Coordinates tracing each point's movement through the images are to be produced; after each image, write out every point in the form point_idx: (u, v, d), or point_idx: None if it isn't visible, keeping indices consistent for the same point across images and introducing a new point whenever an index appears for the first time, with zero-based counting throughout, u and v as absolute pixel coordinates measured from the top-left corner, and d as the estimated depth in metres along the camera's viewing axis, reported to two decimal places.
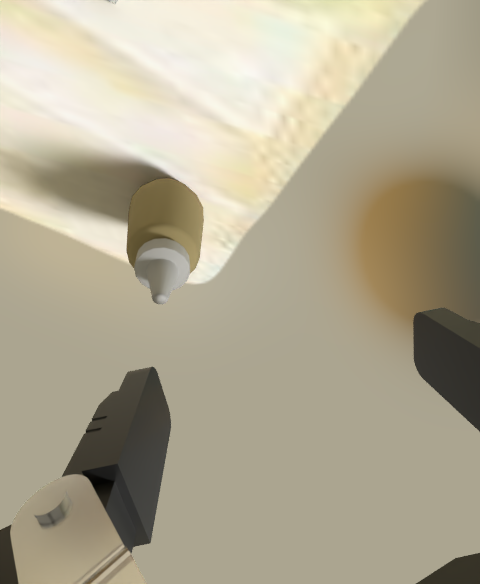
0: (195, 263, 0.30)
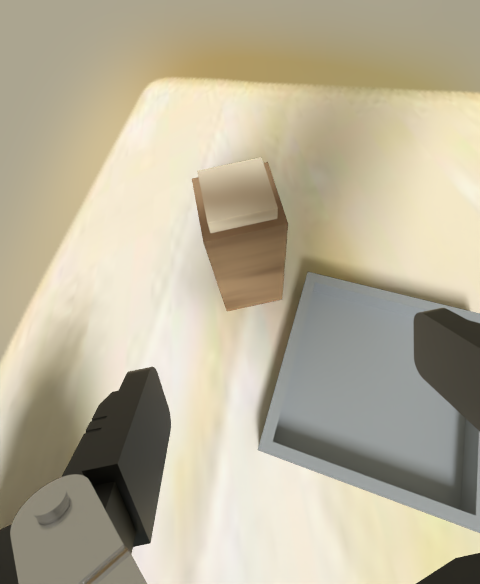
0: None
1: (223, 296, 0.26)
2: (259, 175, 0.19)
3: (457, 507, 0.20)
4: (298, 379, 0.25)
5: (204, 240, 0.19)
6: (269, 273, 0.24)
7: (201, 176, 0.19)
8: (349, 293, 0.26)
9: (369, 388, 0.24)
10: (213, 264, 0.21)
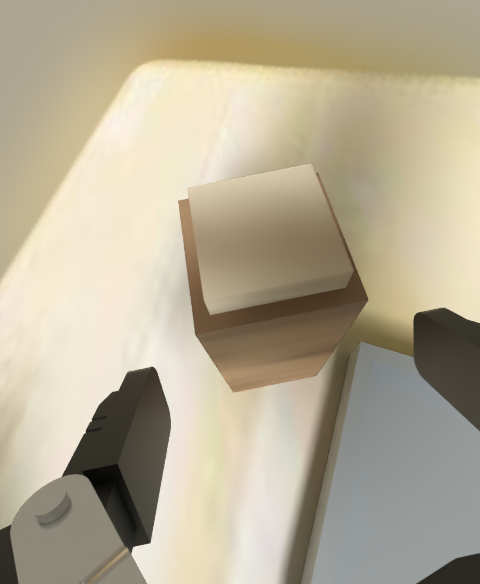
0: None
1: (229, 382, 0.16)
2: (310, 200, 0.10)
3: None
4: (349, 525, 0.15)
5: (197, 330, 0.09)
6: (307, 356, 0.14)
7: (195, 199, 0.10)
8: None
9: (470, 550, 0.14)
10: (214, 357, 0.11)
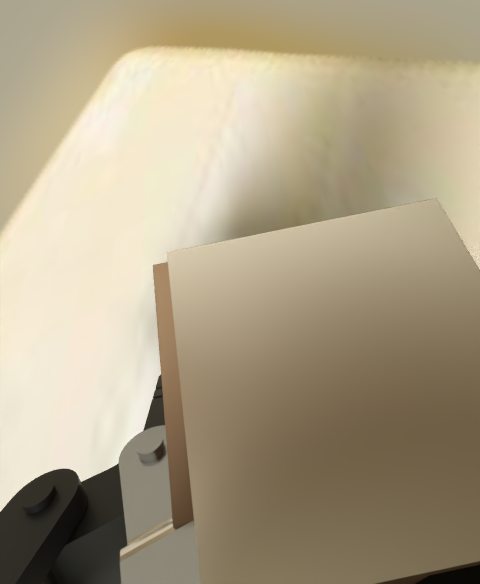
0: None
1: None
2: (453, 290, 0.04)
3: None
4: None
5: None
6: None
7: (183, 280, 0.04)
8: None
9: None
10: None
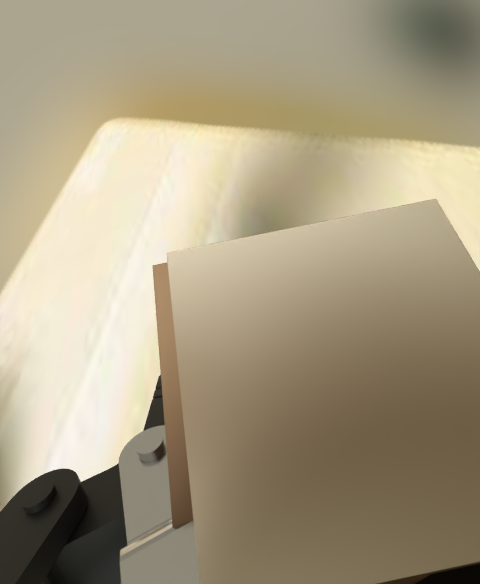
0: None
1: None
2: (452, 290, 0.04)
3: None
4: None
5: None
6: None
7: (182, 281, 0.04)
8: None
9: None
10: None
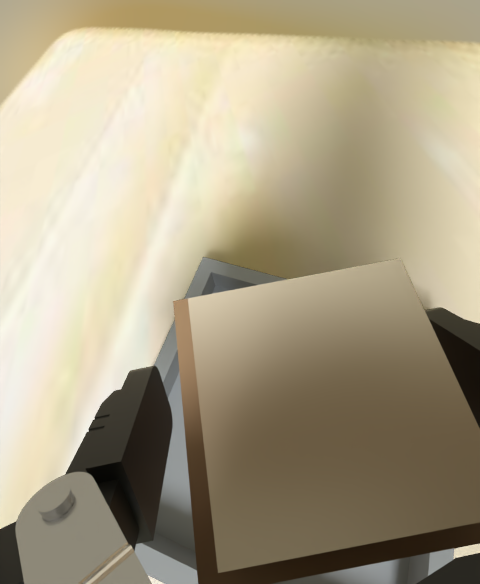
0: None
1: None
2: (407, 335, 0.05)
3: None
4: (174, 415, 0.16)
5: None
6: None
7: (200, 322, 0.06)
8: None
9: None
10: None
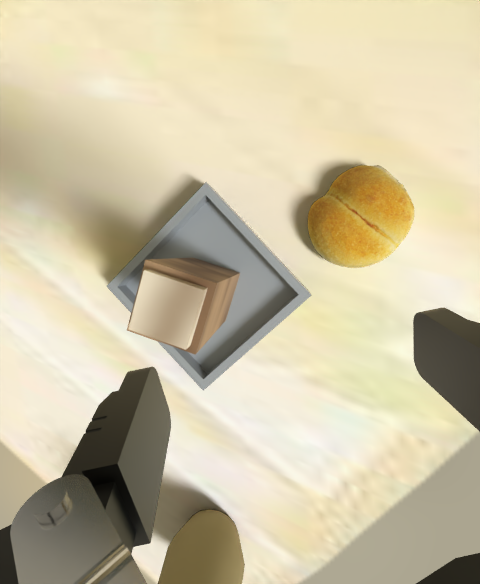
0: None
1: (219, 326, 0.29)
2: (163, 283, 0.20)
3: (295, 293, 0.31)
4: None
5: (194, 353, 0.21)
6: (227, 290, 0.26)
7: (136, 329, 0.21)
8: (138, 266, 0.31)
9: None
10: (205, 341, 0.24)
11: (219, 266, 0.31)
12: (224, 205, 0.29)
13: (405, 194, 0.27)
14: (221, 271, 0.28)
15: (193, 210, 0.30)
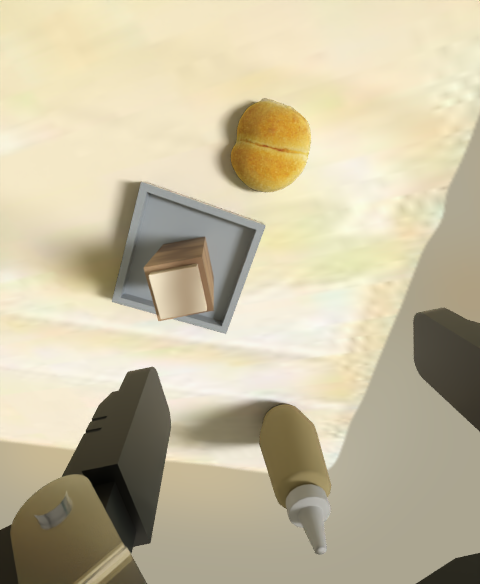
0: (329, 490, 0.37)
1: (213, 283, 0.36)
2: (167, 277, 0.26)
3: (253, 229, 0.38)
4: None
5: (212, 310, 0.29)
6: (206, 255, 0.33)
7: (166, 316, 0.27)
8: (126, 274, 0.37)
9: None
10: (213, 299, 0.31)
11: (187, 240, 0.37)
12: (165, 192, 0.34)
13: (295, 113, 0.32)
14: (193, 244, 0.34)
15: (143, 208, 0.35)
